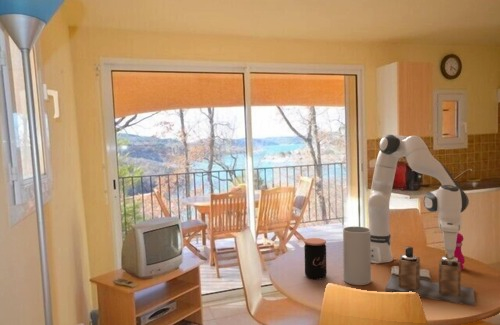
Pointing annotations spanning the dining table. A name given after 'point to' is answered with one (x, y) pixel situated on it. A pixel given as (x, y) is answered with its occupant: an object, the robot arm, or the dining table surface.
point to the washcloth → (423, 273)
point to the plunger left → (409, 254)
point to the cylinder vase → (357, 255)
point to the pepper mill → (459, 250)
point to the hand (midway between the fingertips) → (450, 255)
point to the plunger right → (449, 258)
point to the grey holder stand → (443, 290)
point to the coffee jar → (315, 258)
